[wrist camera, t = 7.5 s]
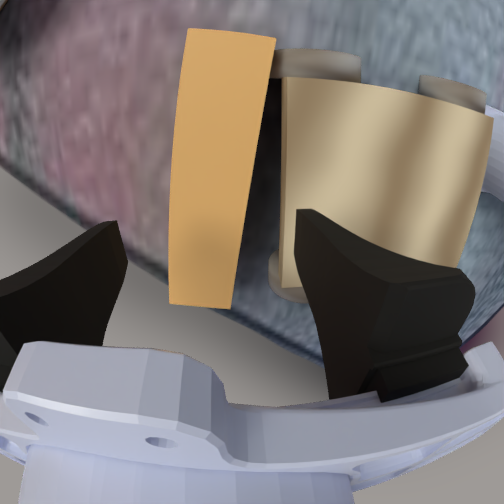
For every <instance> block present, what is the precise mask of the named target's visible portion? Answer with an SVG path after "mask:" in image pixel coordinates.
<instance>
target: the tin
mask: <svg viewBox="0 0 504 504" xmlns="http://www.w3.org/2000/svg"><path fill="white" fill-rule="evenodd" d="M7 1H8V0H0V11H1V9H2V8H3V7H4V5H5V4H6V2H7Z"/></svg>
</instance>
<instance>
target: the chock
mask: <svg viewBox="0 0 504 504" xmlns="http://www.w3.org/2000/svg"><path fill="white" fill-rule="evenodd" d="M275 43H276V38H272V37H266V36H260V35H254V34H247V33H239V32H231V31H221V30H208V29H190V28H188V32H187V38H186V44H185V50H184V56H183V63H182V69H181V76H180V84H179V92H178V100H177V109H176V118H175V128H174V139H173V152H172V166H171V183H170V206H169V301H170V302H169V303H170V304H179V305H188V306H199V307H211V308H223V309H230V307H231V301H232V294H233V288H234V282H235V275H236V269H237V263H238V256H239V250H240V244H241V238H242V232H243V226H244V220H245V213H246V207H247V201H248V195H249V189H250V184H251V178H252V172H253V166H254V160H255V154H256V148H257V143H258V137H259V131H260V126H261V120H262V114H263V109H264V103H265V97H266V92H267V86H268V81H269V75H270V70H271V64H272V59H273V54H274V48H275Z"/></svg>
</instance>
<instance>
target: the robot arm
mask: <svg viewBox="0 0 504 504" xmlns="http://www.w3.org/2000/svg"><path fill="white" fill-rule="evenodd" d="M485 115H488V116H490V117H493V118H494V122H493V130H492V138H491V144H490V150H489V156H488V161H487V166H486V171H485V176H484V180H483V184H482V189H481V192H488V193H491V194H492V195H494V196H495V197H497V198H498V199H499V200H501V201H502V202H504V112H502V111H499V110H497V109H495V108H492V107H490V106H487V105H486V108H485ZM294 258H295V263H296V267H297V272H298V275H299V278H300V281H301V283H302V286H303V289H304V292H305V294H306V297H307V300H308V302H309V305H310V308H311V311H312V313H313V316H314V320H315V323H316V327H317V331H318V336H319V341H320V345H321V350H322V356H323V361H324V366H325V372H326V379H327V386H328V392H329V400H327V401H320V402H313V403H306V404H299V405H290V406H281V407H269V406H256V405H244V404H234V403H228V402H227V400H226V396H225V390H224V385H223V383H222V382H221V381H220V379H219V378H218V376H217V375H216V374H215V372H214V371H213V369H212V368H211V367H209V366H207V365H205V364H204V363H201V362H199V361H197V360H195V359H193V358H191V357H189V356H187V355H185V354H183V353H177V352H172V351H166V350H160V349H154V348H128V347H107V346H102V345H103V340H104V335H105V331H106V328H107V324H108V321H109V319H110V316H111V313H112V311H113V308H114V305H115V303H116V300H117V298H118V295H119V292H120V290H121V287H122V284H123V282H124V278H125V274H126V269H127V265H128V260H127V257H126V253H125V249H124V246H123V242H122V239H121V235H120V231H119V227H118V223H117V220H116V221H106V222H102V223H100V224H98V225H96V226H94V227H92V228H91V229H89V230H87V231H86V232H84V233H83V234H81V235H80V236H78V237H77V238H75V239H74V240H72V241H71V242H69V243H68V244H66V245H65V246H63V247H61V248H60V249H58V250H57V251H56V252H54V253H52V254H51V255H49V256H47V257H46V258H44V259H42V260H40V261H39V262H37V263H35V264H33V265H31V266H30V267H28V268H26V269H23V270H21V271H19V272H17V273H15V274H13V275H11V276H9V277H6V278H4V279H1V280H0V453H1V454H3V455H4V456H6V457H8V458H10V459H12V460H14V461H16V462H18V463H20V464H22V465H24V466H25V468H24V473H23V478H22V484H21V489H20V495H19V502H18V504H355V503H354V499H353V494H352V492H355V491H358V490H362V489H365V488H368V487H371V486H374V485H377V484H379V483H382V482H385V481H388V480H391V479H393V478H396V477H399V476H401V475H404V474H406V473H408V472H411V471H413V470H415V469H418V468H420V467H422V466H424V465H426V464H429V463H431V462H433V461H435V460H437V459H439V458H441V457H443V456H445V455H447V454H449V453H451V452H452V451H455V450H456V449H458V448H460V447H462V446H464V445H466V444H467V443H469V442H471V441H473V440H474V439H476V438H478V437H480V436H481V435H482V434H484V433H485V432H486V431H488V430H489V429H490V428H491V427H492V426H494V425H495V424H496V423H497V422H498V421H500V419H502V418H503V417H504V360H503V358H502V357H501V355H500V353H499V352H498V350H497V349H496V347H495V345H494V344H493V342H487V343H484V344H482V345H479V346H477V347H474V348H472V349H470V350H468V351H467V352H466V353H464V354H462V353H461V351H460V349H459V347H460V346H461V344H462V340H461V338H460V337H459V335H458V332H459V331H460V329H461V327H462V325H463V324H464V322H465V320H466V318H467V317H468V315H469V313H470V311H471V309H472V306H473V304H474V299H475V287H474V285H473V284H472V282H471V281H470V280H469V279H468V277H467V276H466V275H465V274H464V273H463V272H462V270H460V269H458V268H453V267H447V266H442V265H436V264H432V263H428V262H424V261H420V260H416V259H413V258H410V257H407V256H404V255H401V254H398V253H395V252H392V251H390V250H387V249H385V248H382V247H380V246H378V245H376V244H373V243H371V242H369V241H367V240H365V239H363V238H361V237H359V236H358V235H356V234H354V233H352V232H350V231H349V230H347V229H345V228H344V227H342V226H340V225H339V224H337V223H335V222H334V221H332V220H331V219H329V218H327V217H326V216H324V215H323V214H321V213H319V212H318V211H316V210H314V209H296V223H295V240H294Z"/></svg>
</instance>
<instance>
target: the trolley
mask: <svg viewBox="0 0 504 504" xmlns="http://www.w3.org/2000/svg"><path fill="white" fill-rule="evenodd" d="M269 78H280V79H282V149H281V204H280V238H279V249H277V250H276V251H274V252H273V253H272V254H271V256H270V258H269V265H268V282H269V285H270V287H271V289H272V290H273V291H274V292H275V293H276V294H277V295H278V296H280V297H282V298H284V299H286V300H288V301H292V302H296V303H309V302H308V300H307V297H306V294H305V292H304V289H303V286H302V283H301V281H300V278H299V275H298V272H297V267H296V263H295V258H294V240H295V223H296V209H314V210H316V211H318V212H319V213H321V214H323V215H324V216H326V217H327V218H329V219H331V220H332V221H334V222H335V223H337V224H339V225H340V226H342V227H344V228H345V229H347V230H349V231H350V232H352V233H354V234H356V235H358V236H359V237H361V238H363V239H365V240H367V241H369V242H371V243H373V244H376V245H378V246H380V247H382V248H385V249H387V250H390V251H392V252H395V253H398V254H401V255H404V256H407V257H410V258H413V259H416V260H420V261H424V262H428V263H432V264H436V265H442V266H447V267H453V268H456V267H457V264H458V262H459V259H460V257H461V254H462V251H463V248H464V246H465V243H466V240H467V237H468V234H469V231H470V228H471V225H472V221H473V218H474V215H475V211H476V208H477V204H478V200H479V197H480V193H481V189H482V184H483V180H484V176H485V171H486V166H487V161H488V156H489V150H490V144H491V138H492V130H493V122H494V118H493V117H490V116H488V115H485V108H486V95H487V94H486V93H485V92H483V91H481V90H479V89H477V88H474V87H471V86H469V85H466V84H462V83H459V82H456V81H452V80H448V79H444V78H439V77H434V76H427V75H420V77H419V94H415V93H410V92H406V91H401V90H396V89H391V88H386V87H380V86H374V85H368V84H361V58H360V57H358V56H356V55H352V54H348V53H343V52H337V51H330V50H320V49H280V50H274V54H273V59H272V64H271V70H270V75H269Z"/></svg>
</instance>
